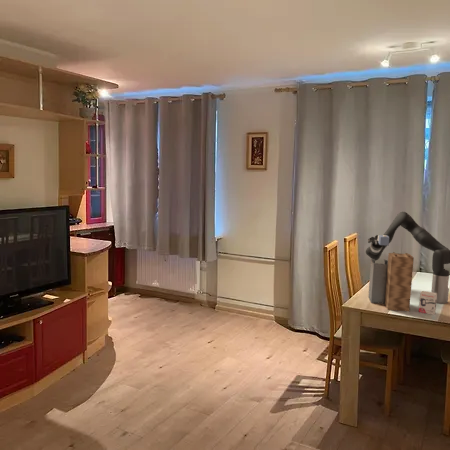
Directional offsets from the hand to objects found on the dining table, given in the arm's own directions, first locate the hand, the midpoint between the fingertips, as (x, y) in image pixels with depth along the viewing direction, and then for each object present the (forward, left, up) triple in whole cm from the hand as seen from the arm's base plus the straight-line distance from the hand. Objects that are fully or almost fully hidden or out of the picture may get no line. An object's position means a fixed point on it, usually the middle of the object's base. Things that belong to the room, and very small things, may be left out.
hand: (380, 236), depth 301 cm
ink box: (-24, +30, -39) cm, 55 cm away
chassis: (+1, +13, -39) cm, 41 cm away
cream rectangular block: (0, +6, -3) cm, 7 cm away
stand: (-8, +26, -39) cm, 47 cm away
